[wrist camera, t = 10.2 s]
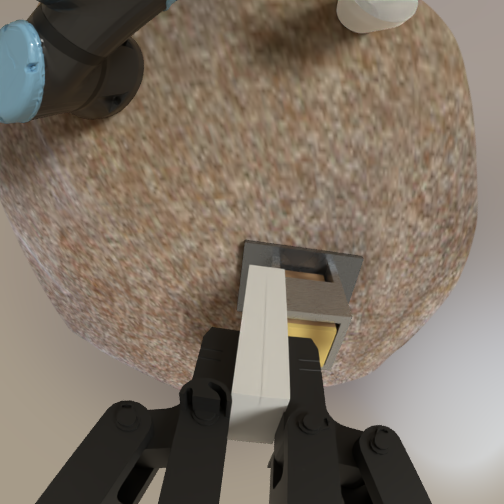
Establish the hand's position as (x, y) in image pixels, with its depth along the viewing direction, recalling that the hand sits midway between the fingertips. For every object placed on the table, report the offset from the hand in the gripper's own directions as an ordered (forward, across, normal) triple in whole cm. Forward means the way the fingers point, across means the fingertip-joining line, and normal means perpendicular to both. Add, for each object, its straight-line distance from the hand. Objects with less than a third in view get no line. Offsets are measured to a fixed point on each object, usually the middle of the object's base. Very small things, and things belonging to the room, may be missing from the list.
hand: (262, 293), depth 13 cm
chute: (+34, +8, -21) cm, 41 cm away
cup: (+35, +10, +25) cm, 44 cm away
